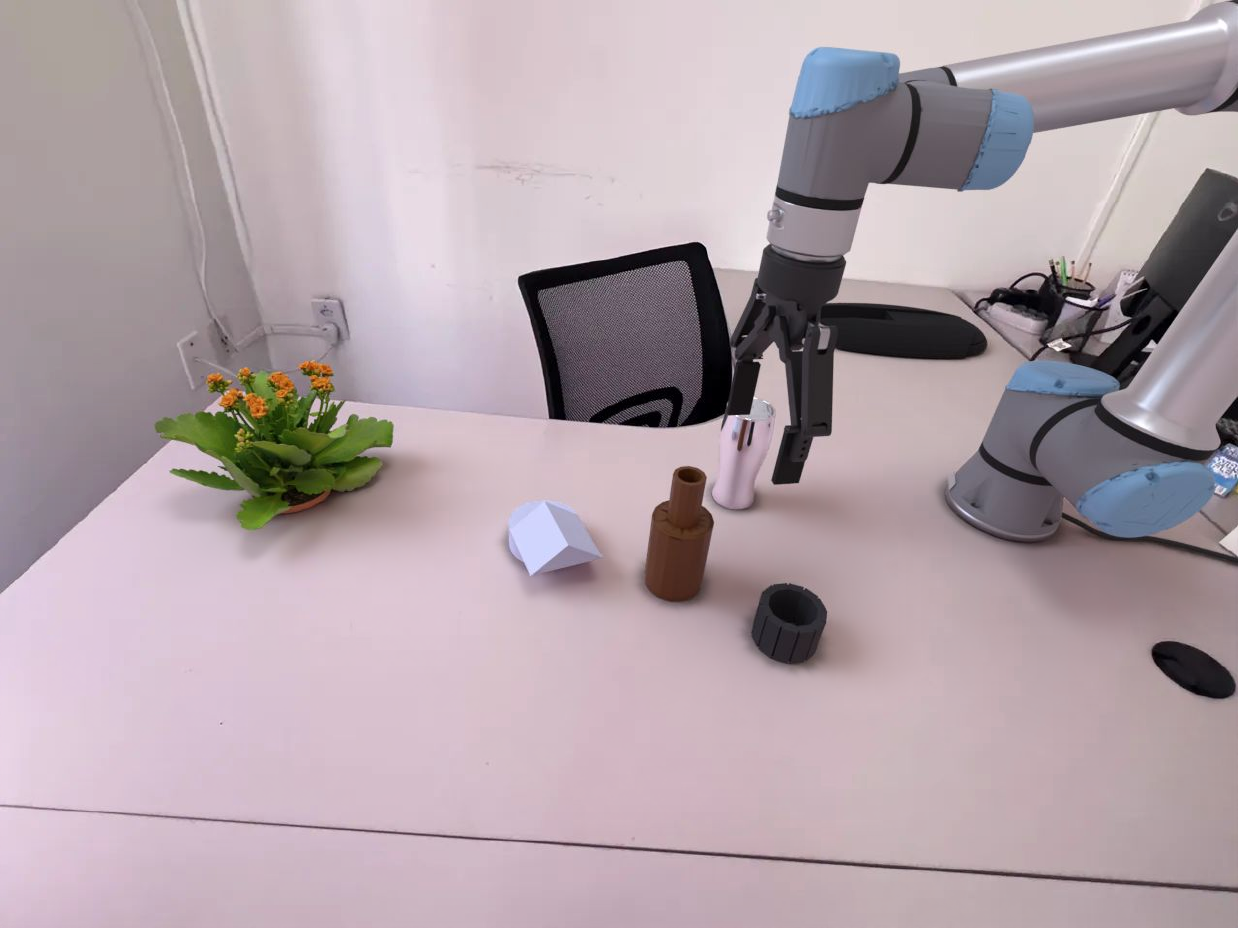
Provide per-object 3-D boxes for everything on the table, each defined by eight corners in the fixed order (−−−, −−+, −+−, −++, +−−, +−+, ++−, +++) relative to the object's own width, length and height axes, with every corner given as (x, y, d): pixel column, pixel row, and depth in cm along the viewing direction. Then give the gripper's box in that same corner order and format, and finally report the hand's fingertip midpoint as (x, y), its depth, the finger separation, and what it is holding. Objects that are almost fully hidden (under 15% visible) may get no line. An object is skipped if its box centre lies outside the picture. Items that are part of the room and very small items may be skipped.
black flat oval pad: (1006, 365, 141) (1016, 344, 138) (822, 352, 140) (827, 330, 137) (959, 321, 162) (966, 301, 159) (797, 309, 160) (802, 289, 158)
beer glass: (755, 515, 92) (777, 425, 83) (706, 507, 93) (723, 416, 84) (757, 487, 97) (777, 399, 89) (710, 479, 98) (727, 391, 90)
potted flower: (337, 566, 78) (307, 444, 68) (141, 549, 78) (83, 425, 68) (404, 452, 99) (389, 345, 89) (249, 438, 99) (217, 330, 89)
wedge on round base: (601, 577, 80) (565, 514, 89) (604, 536, 76) (566, 474, 85) (530, 596, 76) (500, 528, 86) (530, 554, 72) (499, 487, 82)
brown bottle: (706, 569, 82) (727, 465, 73) (694, 608, 76) (715, 501, 67) (653, 555, 84) (667, 451, 74) (637, 592, 78) (650, 485, 69)
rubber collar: (817, 623, 76) (828, 593, 73) (813, 671, 70) (824, 640, 67) (756, 606, 77) (764, 576, 75) (747, 652, 72) (755, 621, 69)
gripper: (721, 212, 68) (693, 391, 80) (832, 300, 48) (772, 520, 60) (787, 214, 70) (750, 389, 82) (920, 300, 50) (845, 514, 62)
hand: (759, 445), depth 71 cm, fingers open, 13 cm apart
